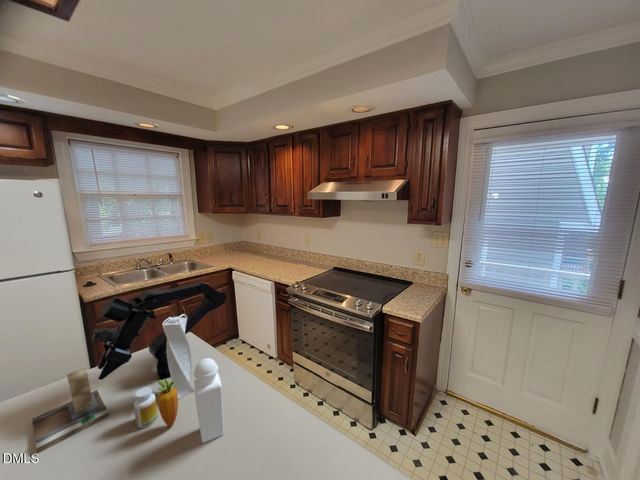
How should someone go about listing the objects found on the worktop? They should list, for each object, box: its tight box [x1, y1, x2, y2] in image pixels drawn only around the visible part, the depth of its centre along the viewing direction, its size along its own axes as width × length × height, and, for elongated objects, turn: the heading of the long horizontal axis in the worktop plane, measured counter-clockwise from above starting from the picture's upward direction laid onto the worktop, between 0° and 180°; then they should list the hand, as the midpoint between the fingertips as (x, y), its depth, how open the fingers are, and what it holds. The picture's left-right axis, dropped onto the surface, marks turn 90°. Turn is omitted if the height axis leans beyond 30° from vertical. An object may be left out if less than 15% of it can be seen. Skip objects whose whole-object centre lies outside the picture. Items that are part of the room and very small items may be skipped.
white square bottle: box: [193, 357, 225, 444], centre depth 73 cm, size 6×6×22 cm
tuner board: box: [31, 389, 110, 454], centre depth 79 cm, size 15×15×2 cm
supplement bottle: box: [133, 386, 159, 429], centre depth 78 cm, size 5×5×10 cm
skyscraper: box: [162, 313, 195, 400], centre depth 88 cm, size 8×8×28 cm
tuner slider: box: [66, 367, 99, 421], centre depth 79 cm, size 6×12×12 cm, turn 50°
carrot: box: [156, 378, 179, 428], centre depth 75 cm, size 5×5×15 cm
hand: (99, 373), depth 84 cm, fingers open, 9 cm apart
